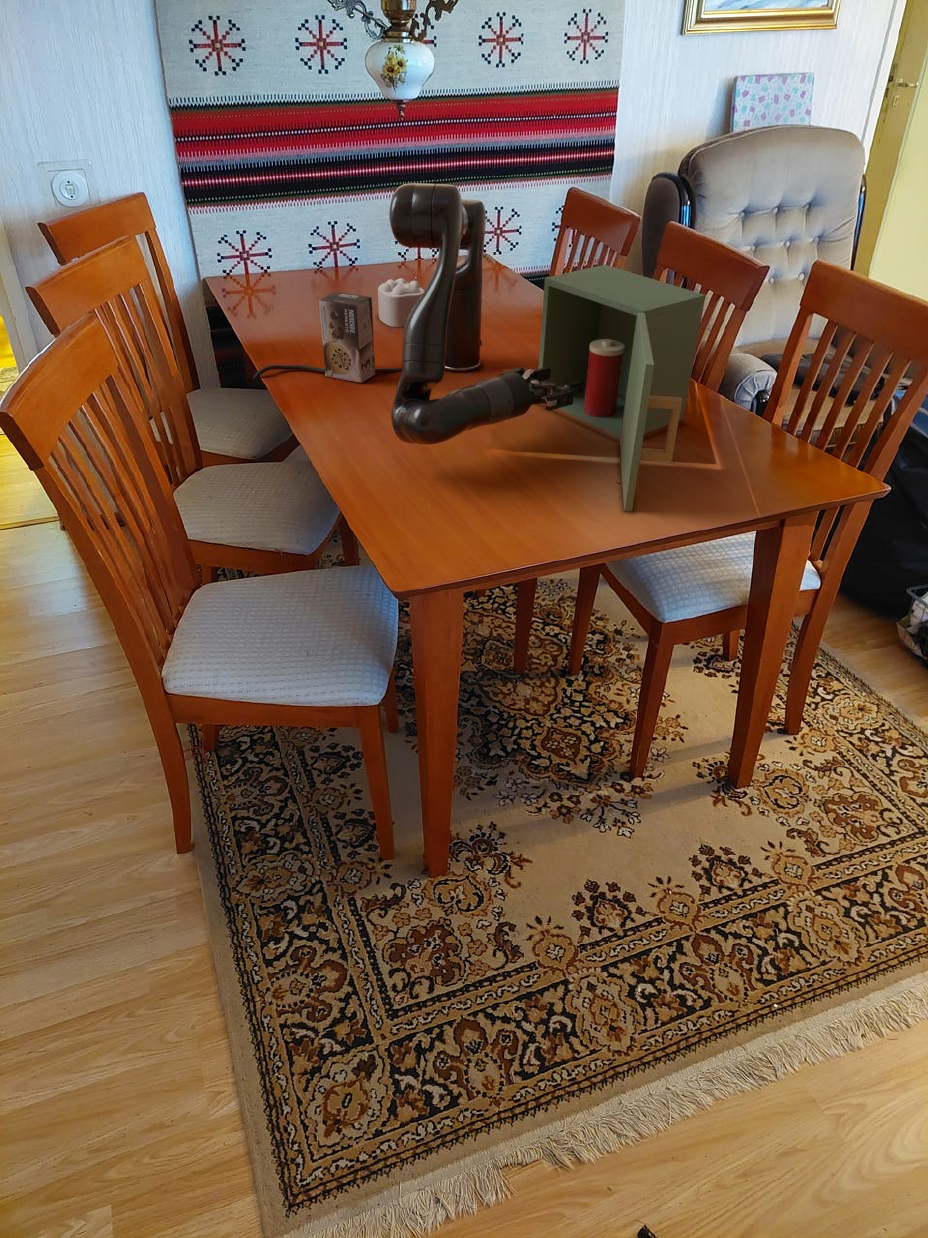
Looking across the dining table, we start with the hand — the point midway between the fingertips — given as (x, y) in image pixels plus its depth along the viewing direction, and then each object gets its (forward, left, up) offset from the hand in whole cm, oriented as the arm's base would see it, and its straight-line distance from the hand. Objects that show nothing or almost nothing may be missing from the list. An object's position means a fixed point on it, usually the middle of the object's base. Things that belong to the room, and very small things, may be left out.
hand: (565, 379), depth 161 cm
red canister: (+7, +7, -9) cm, 13 cm away
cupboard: (+9, +9, -10) cm, 16 cm away
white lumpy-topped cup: (-41, +61, -10) cm, 74 cm away
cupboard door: (+14, -18, -10) cm, 25 cm away
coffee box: (-45, +21, -10) cm, 51 cm away
